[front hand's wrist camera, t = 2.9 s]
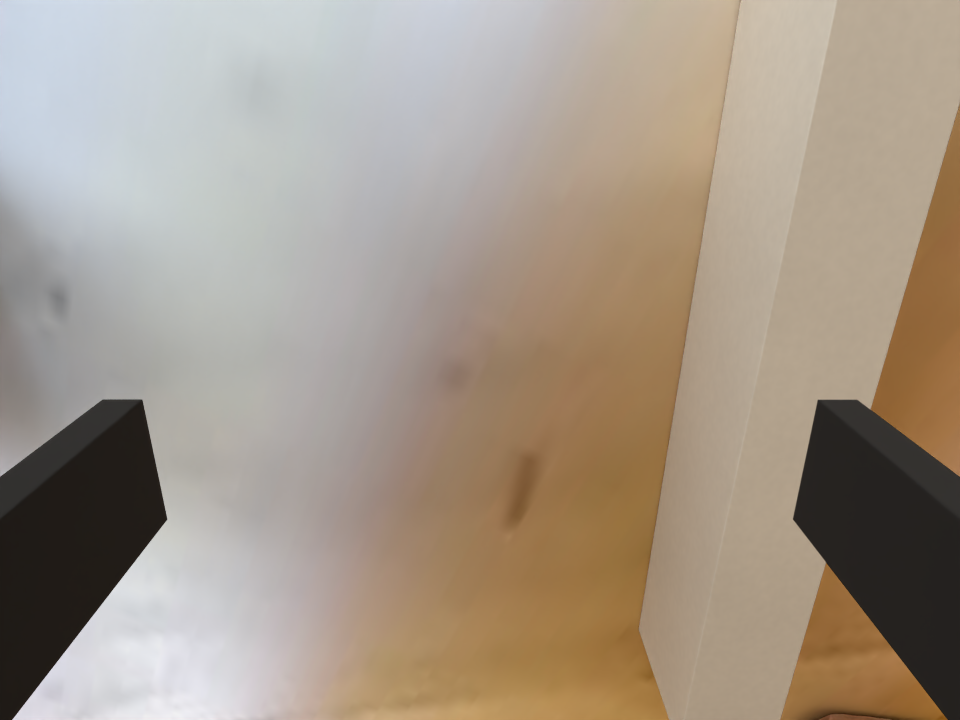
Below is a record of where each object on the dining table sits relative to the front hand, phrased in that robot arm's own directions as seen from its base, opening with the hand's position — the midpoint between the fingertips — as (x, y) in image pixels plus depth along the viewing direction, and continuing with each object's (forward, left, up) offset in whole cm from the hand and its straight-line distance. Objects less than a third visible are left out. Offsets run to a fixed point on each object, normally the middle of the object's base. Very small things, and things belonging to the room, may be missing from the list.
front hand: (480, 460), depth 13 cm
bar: (+14, -13, -18) cm, 26 cm away
